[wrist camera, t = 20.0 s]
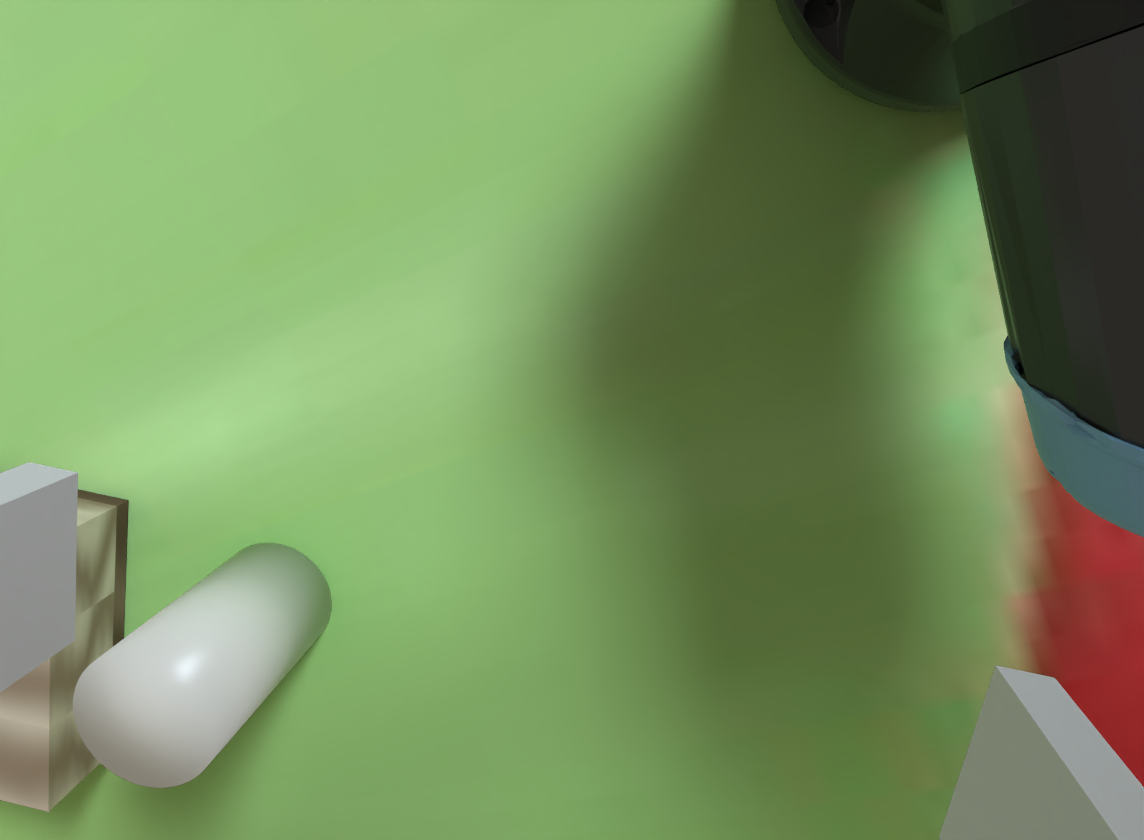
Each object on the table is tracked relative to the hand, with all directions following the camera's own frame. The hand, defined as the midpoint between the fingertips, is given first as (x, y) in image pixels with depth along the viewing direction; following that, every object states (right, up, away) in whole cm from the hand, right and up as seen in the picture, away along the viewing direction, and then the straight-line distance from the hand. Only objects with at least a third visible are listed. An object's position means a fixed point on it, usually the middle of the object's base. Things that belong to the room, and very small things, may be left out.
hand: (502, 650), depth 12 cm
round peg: (-16, -7, +36) cm, 39 cm away
